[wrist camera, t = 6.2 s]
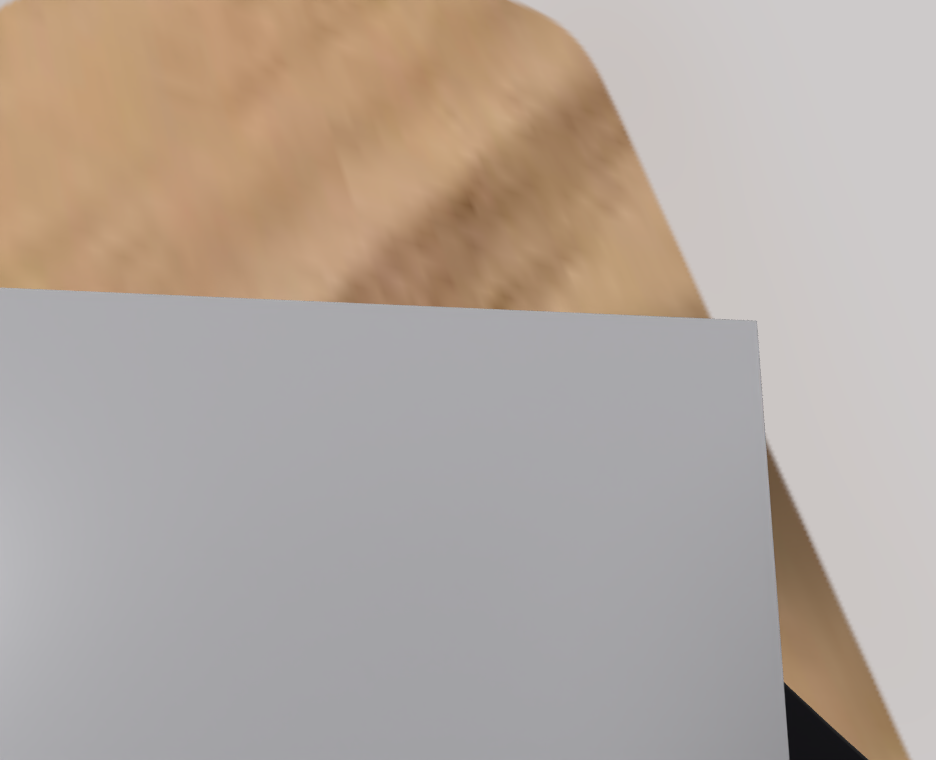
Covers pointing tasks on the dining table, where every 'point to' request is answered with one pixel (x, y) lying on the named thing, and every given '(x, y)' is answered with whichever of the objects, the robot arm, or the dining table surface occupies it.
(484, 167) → the dining table surface
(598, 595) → the plug
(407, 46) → the dining table surface
